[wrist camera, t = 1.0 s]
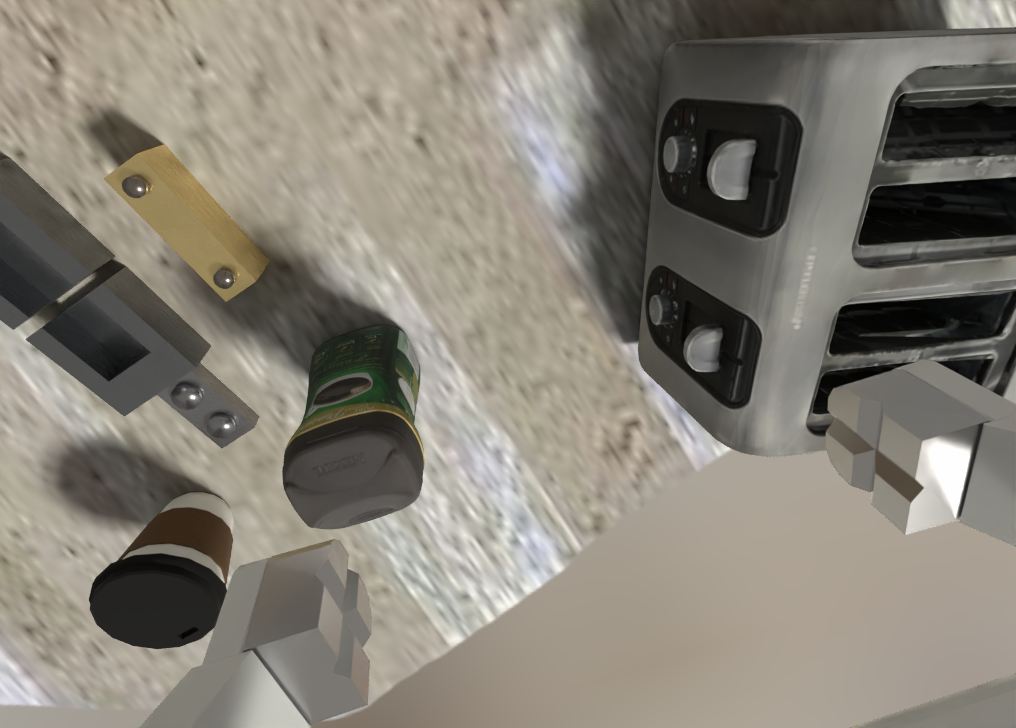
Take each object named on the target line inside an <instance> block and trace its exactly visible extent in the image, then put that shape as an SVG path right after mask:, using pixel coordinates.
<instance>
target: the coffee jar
mask: <svg viewBox="0 0 1016 728" xmlns="http://www.w3.org/2000/svg"><path fill="white" fill-rule="evenodd" d="M419 385H420V365H419V361H418V357H417V354H416V351H415V349H414V347H413V345H412V343H411V342H410V340H409V338H408V337H407V335H406V334H405V333H404V332H402V331H401V330H400V329H398V328H396V327H393V326H390V325H377V326H372V327H367V328H363V329H359V330H355V331H352V332H349V333H346V334H343V335H340V336H338V337H336V338H333V339H331V340H329V341H327V342H325V343H323V344H322V345H321V346H319V347H318V348H317V350H316V351H315V352H314V354H313V357H312V361H311V366H310V373H309V388H308V397H307V404H306V410H305V414H304V418H303V421H302V423H301V425H300V426H299V428H298V429H297V431H296V432H295V433H294V435H293V436H292V438H291V439H290V441H289V443H288V445H287V447H286V450H285V455H284V466H283V471H282V472H283V485H284V490H285V492H286V494H287V497H288V499H289V500H290V502H291V504H292V506H293V507H294V509H295V510H296V512H297V513H298V514H299V516H300V517H301V518H302V520H303V521H304V522H305V523H306V524H307V525H308V526H309V527H311V528H320V529H339V528H345V527H349V526H352V525H356V524H360V523H363V522H367V521H370V520H373V519H376V518H379V517H382V516H385V515H388V514H390V513H393V512H395V511H399V510H401V509H403V508H405V507H407V506H409V505H410V504H412V503H413V502H414V501H415V500H416V499H417V498H418V496H419V494H420V491H421V487H422V482H423V477H422V476H423V469H424V464H425V458H424V450H423V445H422V442H421V439H420V436H419V433H418V431H417V429H416V427H415V425H414V420H415V411H416V404H417V398H418V392H419Z"/></svg>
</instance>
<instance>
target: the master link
mask: <svg viewBox="0 0 1016 728" xmlns="http://www.w3.org/2000/svg"><path fill="white" fill-rule="evenodd" d="M104 180H105V181H106V182H107V183H108V184H109V185H110V186H111V187H112V188H113V189H114V190H115V191H116V192H117V193H118V194H119V195H120V196H121V197H122V198H123V199H124V200H125V201H126V202H127V203H128V204H129V205H130V206H131V207H132V208H133V209H134V210H135V211H136V212H137V213H138V214H139V215H140V216H141V217H142V218H143V219H144V220H145V221H146V222H147V223H148V224H149V225H150V226H151V227H152V228H153V229H154V230H155V231H156V232H157V233H158V234H159V235H160V236H161V237H162V238H163V239H164V240H165V241H166V242H167V243H168V244H169V245H170V246H171V247H172V248H173V249H174V250H175V251H176V252H177V253H178V254H179V255H180V256H181V257H182V258H183V259H184V260H185V261H186V262H187V263H188V264H189V265H190V266H191V267H192V268H193V269H194V270H195V271H196V272H197V273H198V274H199V275H200V276H201V277H202V278H203V279H204V280H205V282H206V283H207V284H208V285H209V286H210V287H211V288H212V289H213V290H214V291H215V292H216V293H217V294H218V295H219V296H220V297H221V298H222V299H223V300H224V301H225V302H227V301H228V300H230V299H231V298H233V297H234V296H236V295H237V294H239V293H240V292H241V291H243V290H244V289H246V288H247V287H249V286H250V285H252V284H253V283H255V282H256V281H257V280H258V278H259V277H260V275H261V274H262V272H263V271H264V269H265V268H266V267H267V265H268V264H269V262H270V261H269V260H268V259H267V258H266V256H265V255H264V254H263V253H262V252H261V251H260V250H259V249H258V248H257V246H256V245H255V244H254V243H253V242H252V241H251V240H250V239H249V238H248V236H247V235H246V234H245V233H244V232H243V231H242V230H241V229H240V228H239V226H238V225H237V224H236V223H235V222H234V221H233V220H232V219H231V218H230V216H229V215H228V214H227V213H226V212H225V211H224V210H223V209H222V208H221V206H220V205H219V204H218V203H217V202H216V201H215V200H214V199H213V198H212V196H211V195H210V194H209V193H208V192H207V191H206V190H205V189H204V188H203V187H202V185H201V184H200V183H199V182H198V181H197V180H196V179H195V178H194V177H193V175H192V174H191V173H190V172H189V171H188V170H187V169H186V168H185V167H184V165H183V164H182V163H181V162H180V161H179V160H178V159H177V158H176V157H175V155H174V154H173V153H172V152H171V151H170V150H169V149H168V148H167V147H166V145H165V144H163V145H161V146H158V147H155V148H152V149H149V150H146V151H143V152H140V153H137V154H136V155H134V156H133V157H132V158H130V159H129V160H128V161H126V162H125V163H124V164H122V165H121V166H120V167H118V168H117V169H116V170H114V171H113V172H112V173H110V174H109V175H108V176H107V177H105V178H104Z"/></svg>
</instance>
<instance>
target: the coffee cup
mask: <svg viewBox="0 0 1016 728" xmlns="http://www.w3.org/2000/svg"><path fill="white" fill-rule="evenodd" d="M233 524H234V521H233V516H232V512H231V509H230V507H229V506H228V505H227V504H226V503H225V501H224V500H222V499H220V498H219V497H217V496H215V495H213V494H208V493H204V492H191V493H187V494H184V495H181V496H179V497H177V498H175V499H173V500H172V501H171V502H170V503H169V504H168V505H167V506H166V507H165V508H164V509H163V510H162V511H161V512H160V513H159V514H158V515H157V516H156V517H155V518H154V519H153V520H152V521H151V522H150V523H149V524H148V525H147V526H146V527H145V529H144V530H143V531H142V532H141V533H140V534H139V536H138V537H137V538H136V539H135V540H134V542H133V543H132V544H131V545H130V546H129V548H128V549H127V550H126V551H125V552H124V553H123V555H122V556H121V557H120V558H119V559H118V561H117V562H114V563H111V564H110V565H109V566H108V567H107V568H106V569H105V570H104V571H103V572H101V573H100V574H99V575H98V576H97V577H96V579H95V580H94V582H93V584H92V589H91V593H90V597H89V602H90V604H91V605H90V611H91V613H92V615H93V618H94V620H95V622H96V624H97V625H98V626H99V627H100V628H101V629H103V630H104V631H105V632H106V633H107V634H109V635H110V636H111V637H112V638H115V639H117V640H120V641H122V642H125V643H127V644H130V645H132V646H138V647H146V648H153V649H162V648H172V647H180V646H183V645H186V644H189V643H191V642H194V641H197V640H199V639H201V638H203V637H204V636H205V635H206V634H207V633H208V632H210V631H211V630H212V629H213V628H214V627H215V625H216V622H217V620H218V617H219V614H220V611H221V608H222V605H223V602H224V599H225V596H226V593H227V589H226V583H227V577H228V570H229V563H230V557H231V550H232V543H233V537H232V531H233Z"/></svg>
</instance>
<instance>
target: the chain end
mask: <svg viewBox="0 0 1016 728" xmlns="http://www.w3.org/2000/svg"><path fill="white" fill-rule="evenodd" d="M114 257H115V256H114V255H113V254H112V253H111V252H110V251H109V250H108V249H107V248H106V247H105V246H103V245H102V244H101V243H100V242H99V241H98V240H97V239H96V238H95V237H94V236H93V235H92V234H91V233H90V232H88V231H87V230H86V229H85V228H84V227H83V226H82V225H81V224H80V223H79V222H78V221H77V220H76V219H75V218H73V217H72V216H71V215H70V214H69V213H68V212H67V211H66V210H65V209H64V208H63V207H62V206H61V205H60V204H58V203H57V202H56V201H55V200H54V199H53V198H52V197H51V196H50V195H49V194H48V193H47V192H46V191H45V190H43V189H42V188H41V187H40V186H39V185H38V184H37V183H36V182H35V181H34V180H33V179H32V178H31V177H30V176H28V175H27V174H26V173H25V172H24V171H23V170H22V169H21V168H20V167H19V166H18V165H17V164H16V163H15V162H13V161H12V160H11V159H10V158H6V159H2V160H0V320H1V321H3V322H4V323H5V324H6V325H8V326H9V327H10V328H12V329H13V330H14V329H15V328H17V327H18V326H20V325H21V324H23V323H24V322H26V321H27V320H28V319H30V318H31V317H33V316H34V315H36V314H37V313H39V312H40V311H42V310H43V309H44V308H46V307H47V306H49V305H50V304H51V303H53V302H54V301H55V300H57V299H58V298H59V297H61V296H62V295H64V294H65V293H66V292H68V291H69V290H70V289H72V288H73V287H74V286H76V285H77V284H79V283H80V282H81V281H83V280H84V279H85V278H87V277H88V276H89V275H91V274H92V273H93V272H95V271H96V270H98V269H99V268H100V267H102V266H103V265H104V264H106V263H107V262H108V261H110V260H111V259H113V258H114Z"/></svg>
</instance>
